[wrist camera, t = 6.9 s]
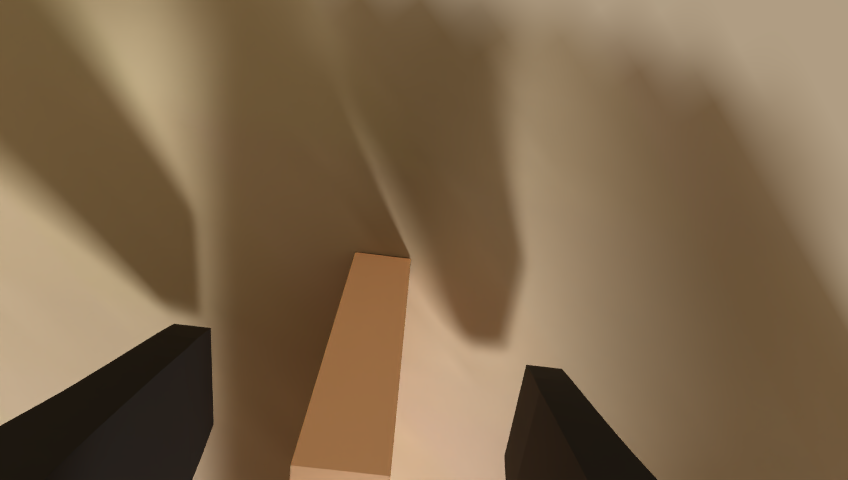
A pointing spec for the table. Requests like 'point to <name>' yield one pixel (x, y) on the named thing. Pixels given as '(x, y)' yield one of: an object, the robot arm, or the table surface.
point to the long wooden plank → (358, 378)
